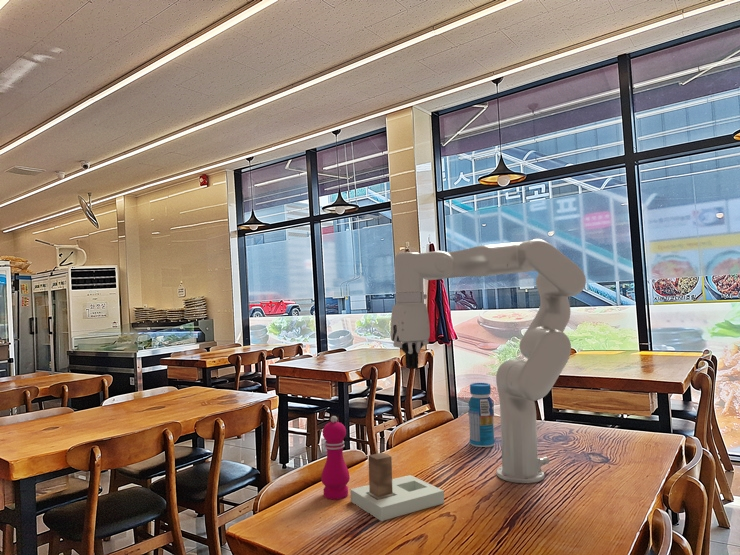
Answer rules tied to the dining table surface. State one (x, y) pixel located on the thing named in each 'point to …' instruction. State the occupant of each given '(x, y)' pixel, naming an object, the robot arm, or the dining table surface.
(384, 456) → the peg
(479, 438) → the beverage bottle
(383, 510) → the board
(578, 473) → the dining table surface
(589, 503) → the dining table surface
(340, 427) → the pepper mill
